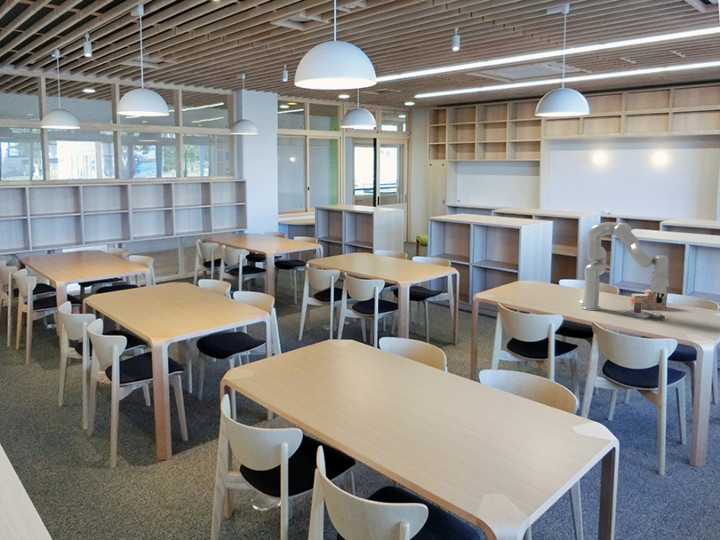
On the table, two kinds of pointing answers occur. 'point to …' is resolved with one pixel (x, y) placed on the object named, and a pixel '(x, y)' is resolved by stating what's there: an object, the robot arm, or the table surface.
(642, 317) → the picture board
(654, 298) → the stack of blocks
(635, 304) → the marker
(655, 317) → the button housing
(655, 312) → the button
